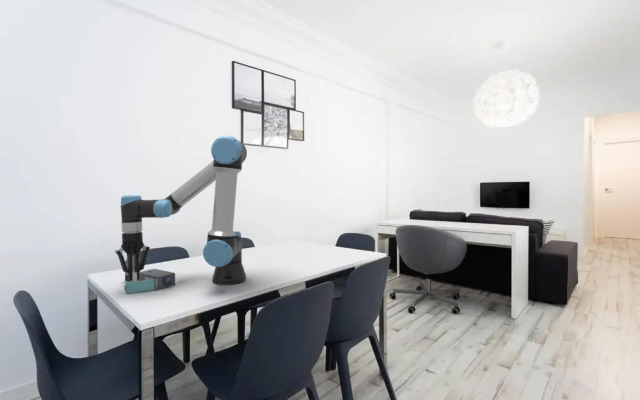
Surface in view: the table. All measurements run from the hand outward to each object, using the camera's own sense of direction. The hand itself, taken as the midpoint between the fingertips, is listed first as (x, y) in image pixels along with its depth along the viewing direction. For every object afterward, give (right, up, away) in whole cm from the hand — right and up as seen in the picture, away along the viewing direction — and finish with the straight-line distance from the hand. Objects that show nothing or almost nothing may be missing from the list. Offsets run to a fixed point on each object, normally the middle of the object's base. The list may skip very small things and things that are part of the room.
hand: (134, 287), depth 140 cm
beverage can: (-9, -1, +14) cm, 17 cm away
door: (+4, -1, -1) cm, 4 cm away
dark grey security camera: (+5, -1, +9) cm, 11 cm away
